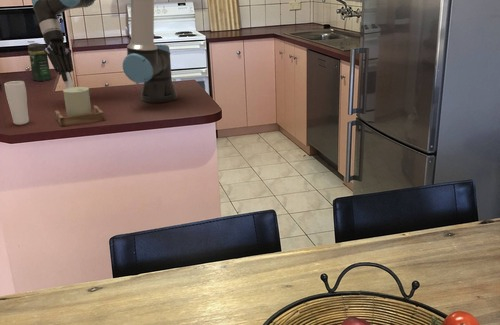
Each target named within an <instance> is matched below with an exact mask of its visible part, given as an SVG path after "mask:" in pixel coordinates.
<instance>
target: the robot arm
mask: <svg viewBox="0 0 500 325" xmlns="http://www.w3.org/2000/svg"><path fill="white" fill-rule="evenodd" d="M95 1H96V0H31V4H32V9H33V11H34V13H35V16H36V19H37V21H38V25H39V28H40V32H41V34H42V38H43V41H44V45H47V46H46V49H44V52H45V53H46V54H47V57H48V60H49V61H50V63H51V65H52V67H53V69H54V71H55V72H56V73H57V74H58V75H59V76H61V79H62V81H63V82H64V85H65V89H67V88H72V87H75V86H74V82H73V78H72V72H74V66H73V59H72V52H73V51H72V49H68V48H66V44H65V43H64V42H65V37H64V34H63V31H62V27H61V25H60V22H59V19H58V15H59V14H61V13H63V12H65V11H67V10H72V9H78V8H79V9H80V8H82V9H83V8H89V7H90V6H92V5H94V3H95ZM154 18H155V0H130V43H129V44H128V45H127V47H126V48H127V49H126V56H125V57H124V59H123V61H122V70H123V74H124V76H126V77H127V78H128V79H129V80H130V81H132V82H134V83H137V84H142V83H143V85H142V90H141V93H140V99H141V101H142V102H143V103H149V104H150V103H151V104H152V103H154V104H155V103H156V104H158V103H159V104H160V103H167V102H169V103H170V102H172V101H175V100H177V98H178V94H177V90H176V87H175V85H174V83H173V79H172V64H171V52H170V51H171V50H170V46H169V44H168V45H167V44H155V42H154V37H155V35H154V31H155V19H154Z"/></svg>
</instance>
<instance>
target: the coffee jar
mask: <svg viewBox="0 0 500 325" xmlns="http://www.w3.org/2000/svg"><path fill="white" fill-rule="evenodd" d="M46 48H47V46H46V44H45V43H44V44H43V43H38V42H33V43H29V44H28V45H27V52H28V56H29V62H30V69H31V76H32V80H34V81H37V82H46V81H49V80H52V76H51V70H50V65H49V64H50V63H49V57H48V55H47V54H46V53H45V52H44V49H46Z"/></svg>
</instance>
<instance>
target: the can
mask: <svg viewBox="0 0 500 325" xmlns="http://www.w3.org/2000/svg"><path fill="white" fill-rule="evenodd" d="M62 92H63V99H64V105H65V110H66V111H65V112H66V117H70V116H77V115H84V114H92V113H93V112H92V105H91V97H90V96H91V95H90V88H89V87H87V86H86V87H85V86H74V87H72V88H67V89H66V88H65V89H63V90H62Z"/></svg>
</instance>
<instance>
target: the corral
mask: <svg viewBox="0 0 500 325" xmlns="http://www.w3.org/2000/svg"><path fill="white" fill-rule="evenodd" d="M92 110H93V112H92V114H84V115H77V116H70V117H67V116H63V115H62V114H61V112H60V110H59V109H56V110H54V117H55V119H56V121H57V122H58V124H59V125H60V127H61V128H62V127H69V126H70V127H71V126H75V125H83V124H84V125H85V124H90V123H97V122H103V121H106V120H105V119H106V118H105V113H104V111H103V110H102V109H100V107H98V105H96V104H95V105H92Z"/></svg>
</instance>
